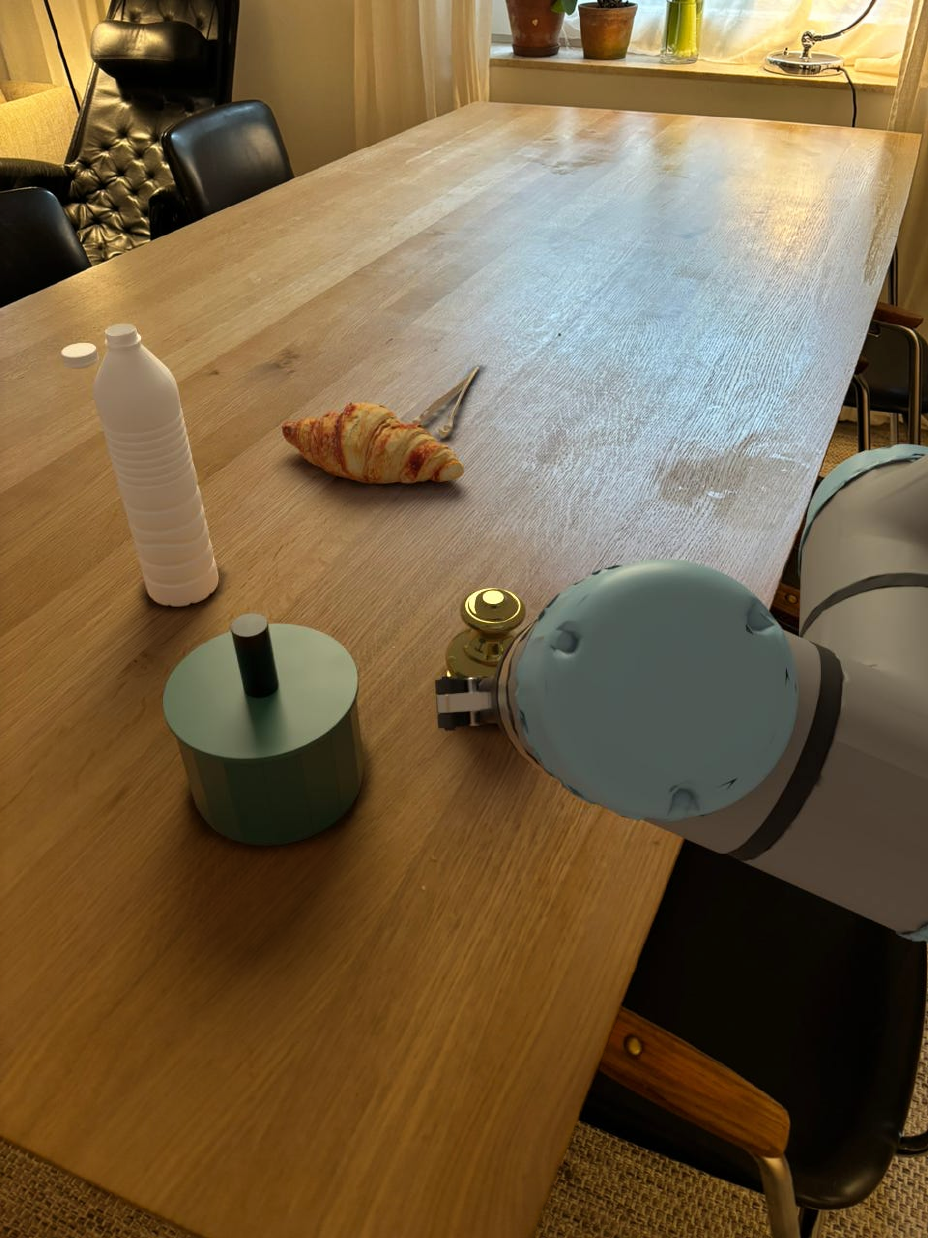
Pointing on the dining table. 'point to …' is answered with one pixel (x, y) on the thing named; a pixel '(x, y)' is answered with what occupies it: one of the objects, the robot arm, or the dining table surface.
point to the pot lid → (260, 692)
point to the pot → (280, 789)
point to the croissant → (372, 446)
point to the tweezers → (442, 400)
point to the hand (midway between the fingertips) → (530, 697)
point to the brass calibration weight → (484, 632)
